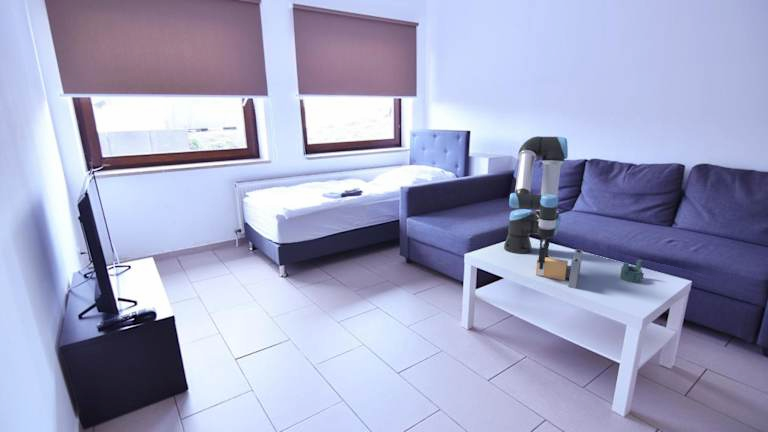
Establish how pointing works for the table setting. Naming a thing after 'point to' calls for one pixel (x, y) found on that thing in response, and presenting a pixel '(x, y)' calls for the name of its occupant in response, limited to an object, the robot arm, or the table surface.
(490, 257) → the table surface
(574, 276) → the housing
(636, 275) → the teal lumpy piece
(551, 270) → the plug
